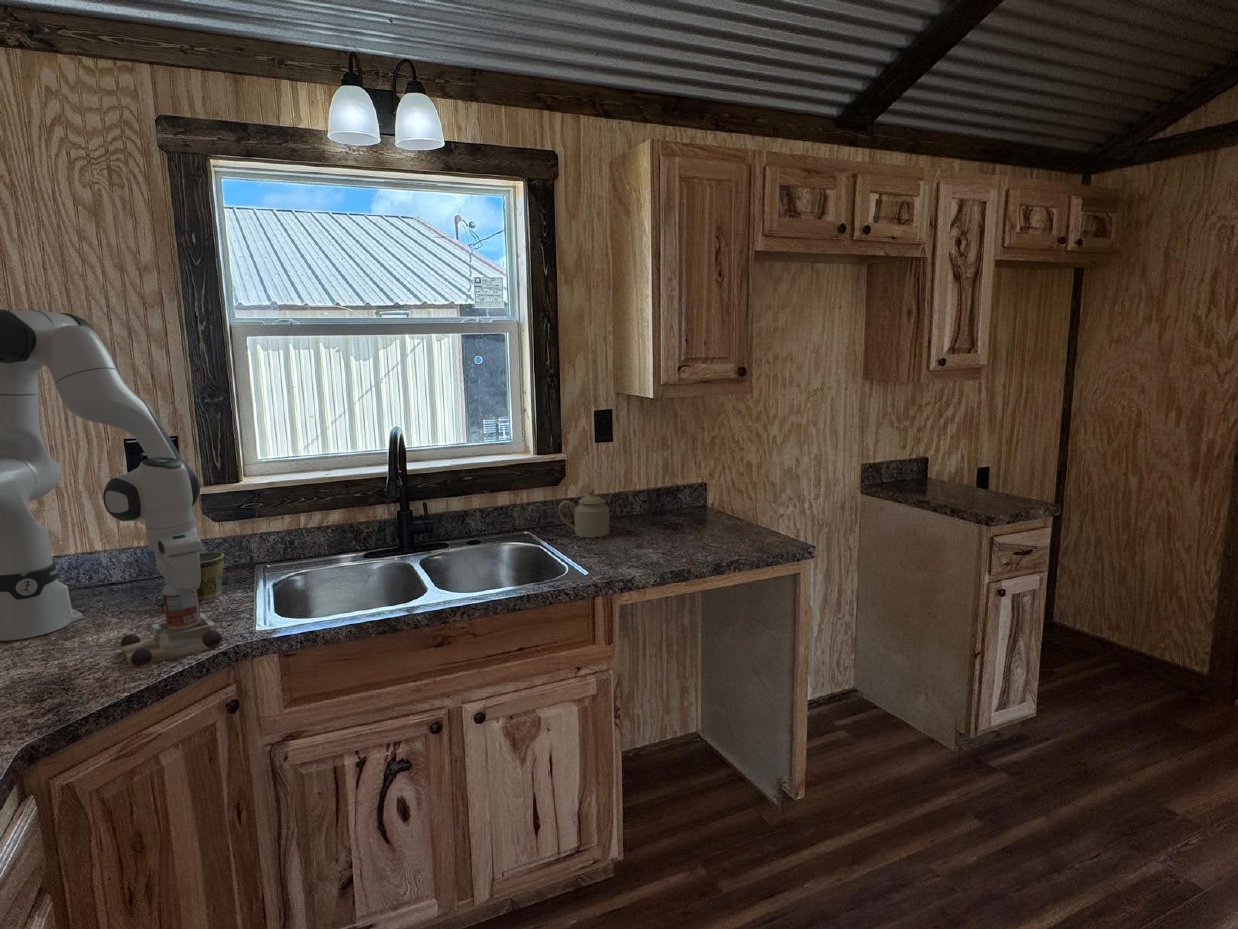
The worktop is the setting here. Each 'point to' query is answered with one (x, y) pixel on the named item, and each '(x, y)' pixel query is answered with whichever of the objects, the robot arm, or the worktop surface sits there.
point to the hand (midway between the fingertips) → (181, 602)
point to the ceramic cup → (210, 574)
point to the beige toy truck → (170, 642)
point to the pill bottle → (179, 608)
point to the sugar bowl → (589, 516)
